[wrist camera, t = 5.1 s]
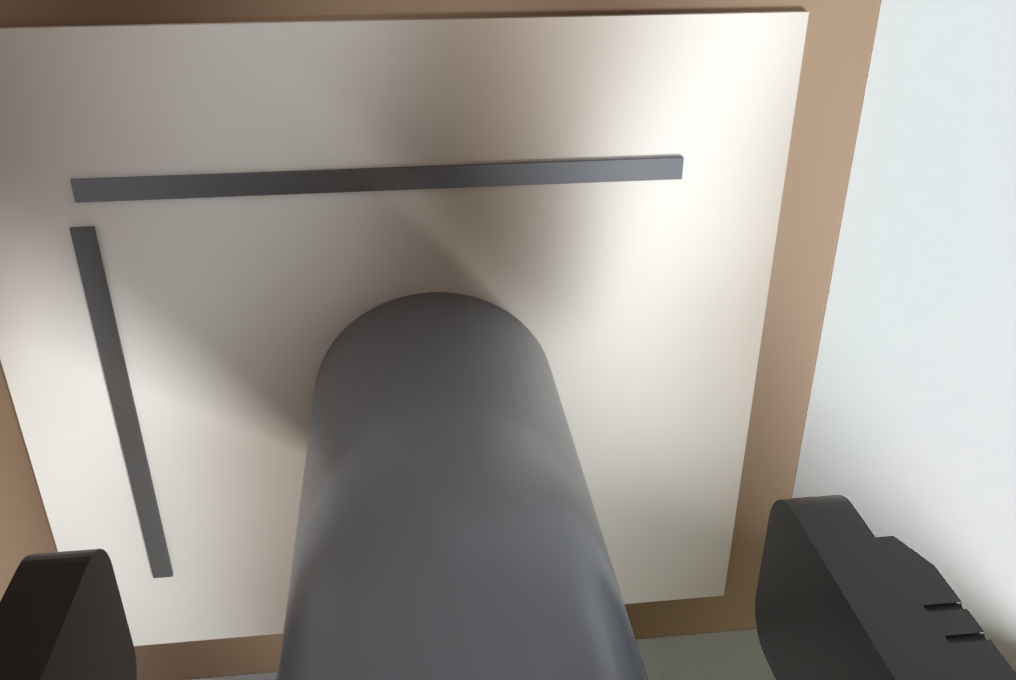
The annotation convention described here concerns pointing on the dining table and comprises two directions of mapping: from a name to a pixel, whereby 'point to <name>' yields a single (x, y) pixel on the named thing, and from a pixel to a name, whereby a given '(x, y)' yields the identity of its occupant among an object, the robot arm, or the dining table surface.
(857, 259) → the dining table surface
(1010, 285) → the dining table surface
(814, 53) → the board
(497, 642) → the marker
